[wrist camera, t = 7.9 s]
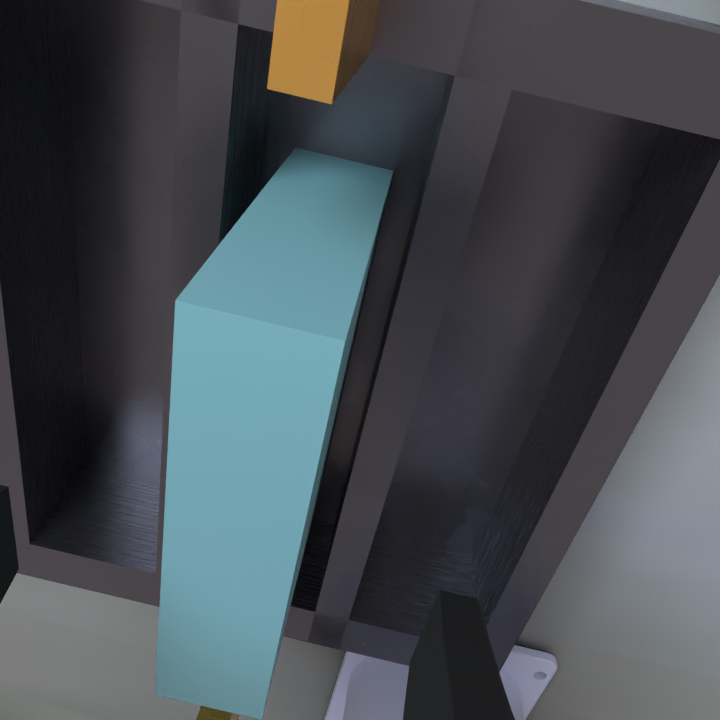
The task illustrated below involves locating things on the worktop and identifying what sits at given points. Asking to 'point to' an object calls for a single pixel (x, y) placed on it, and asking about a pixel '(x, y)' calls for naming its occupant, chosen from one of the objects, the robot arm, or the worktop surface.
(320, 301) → the block
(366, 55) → the rack
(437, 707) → the robot arm
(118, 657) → the worktop surface
